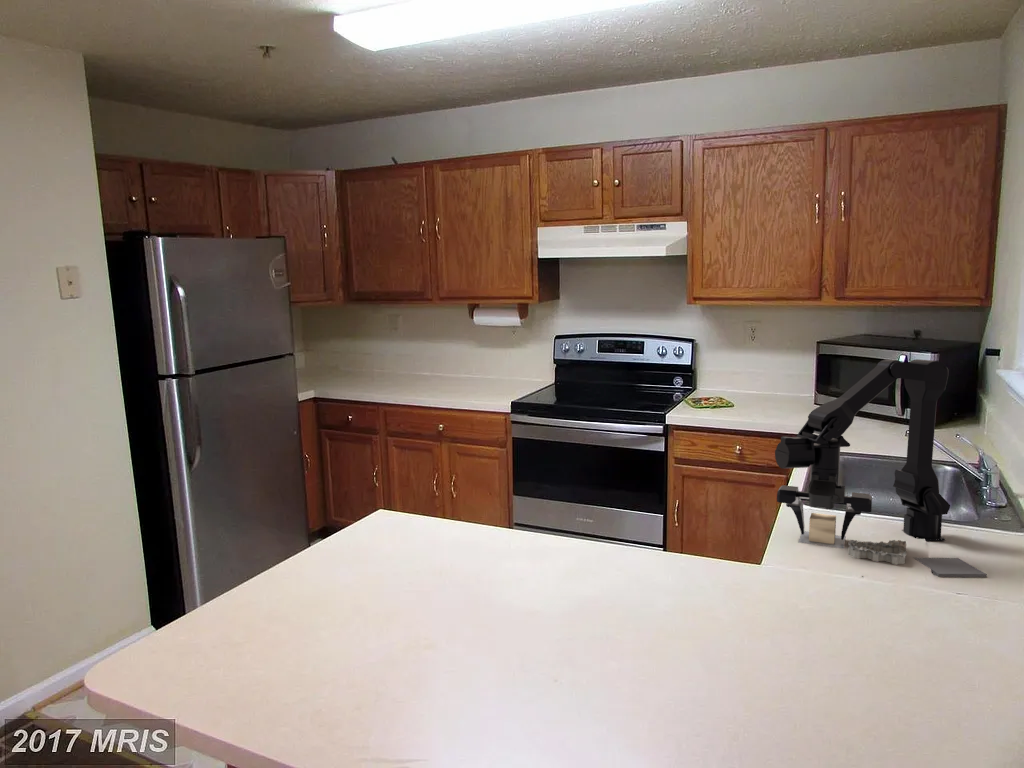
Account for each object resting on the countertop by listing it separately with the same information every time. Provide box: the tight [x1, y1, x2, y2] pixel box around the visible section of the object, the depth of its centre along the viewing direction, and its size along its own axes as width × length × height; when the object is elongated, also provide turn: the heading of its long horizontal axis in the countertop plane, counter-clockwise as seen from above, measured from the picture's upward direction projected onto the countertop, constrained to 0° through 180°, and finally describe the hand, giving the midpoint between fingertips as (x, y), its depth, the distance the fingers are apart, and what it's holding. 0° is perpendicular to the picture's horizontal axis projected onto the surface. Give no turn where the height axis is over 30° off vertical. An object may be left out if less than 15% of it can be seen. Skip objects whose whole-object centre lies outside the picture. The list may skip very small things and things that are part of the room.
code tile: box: [797, 530, 847, 549], centre depth 153 cm, size 9×9×1 cm
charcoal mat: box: [913, 557, 988, 578], centre depth 137 cm, size 9×9×1 cm
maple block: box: [808, 512, 837, 544], centre depth 153 cm, size 5×5×5 cm
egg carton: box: [847, 539, 908, 566], centre depth 142 cm, size 11×8×4 cm
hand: (822, 536), depth 153 cm, fingers open, 8 cm apart
